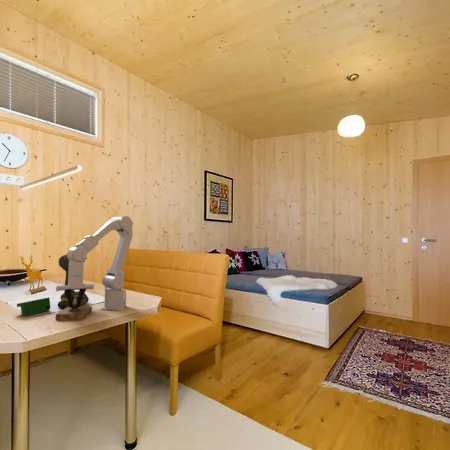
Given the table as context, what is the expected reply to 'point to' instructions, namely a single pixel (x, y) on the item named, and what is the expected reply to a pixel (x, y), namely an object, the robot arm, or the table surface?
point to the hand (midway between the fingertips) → (74, 306)
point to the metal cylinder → (74, 303)
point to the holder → (74, 313)
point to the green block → (34, 306)
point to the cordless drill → (65, 266)
